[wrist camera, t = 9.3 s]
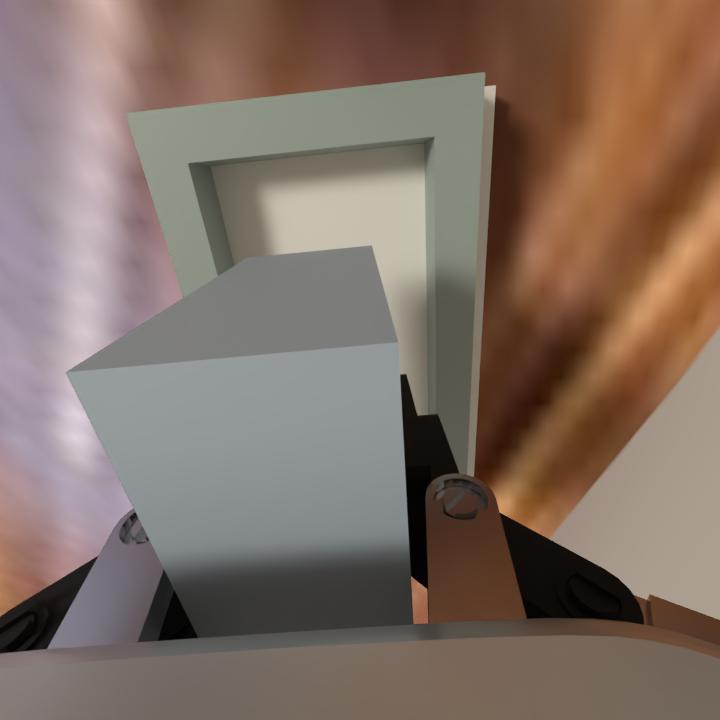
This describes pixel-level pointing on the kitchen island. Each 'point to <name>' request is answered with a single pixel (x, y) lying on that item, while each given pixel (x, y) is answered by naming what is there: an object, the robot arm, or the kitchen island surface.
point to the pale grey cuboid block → (266, 445)
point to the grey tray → (346, 208)
